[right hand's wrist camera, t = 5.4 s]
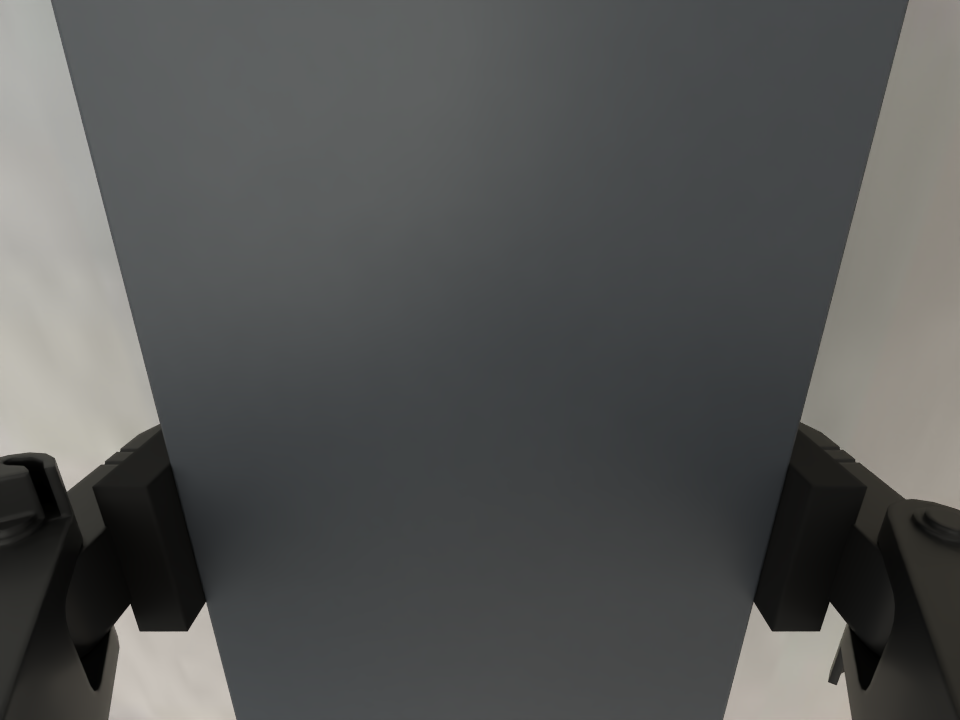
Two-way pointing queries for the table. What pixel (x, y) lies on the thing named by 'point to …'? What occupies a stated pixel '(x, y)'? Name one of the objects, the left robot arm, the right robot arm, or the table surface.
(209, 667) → the table surface
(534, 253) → the thick board
